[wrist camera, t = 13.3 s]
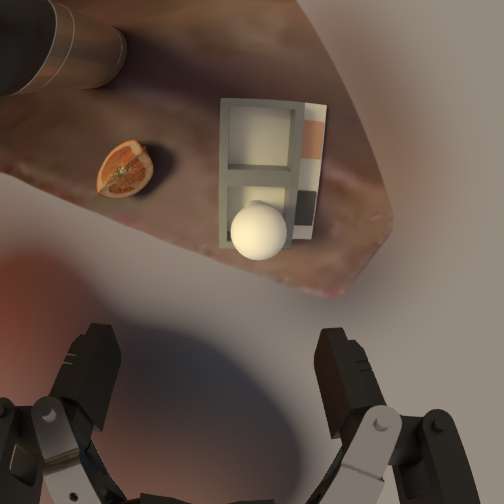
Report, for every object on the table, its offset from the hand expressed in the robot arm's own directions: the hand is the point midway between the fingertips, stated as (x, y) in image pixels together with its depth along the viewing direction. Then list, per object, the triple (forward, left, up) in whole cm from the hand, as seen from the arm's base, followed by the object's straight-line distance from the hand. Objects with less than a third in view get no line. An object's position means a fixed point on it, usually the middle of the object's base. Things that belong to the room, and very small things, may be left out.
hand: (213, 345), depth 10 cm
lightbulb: (+3, -6, -30) cm, 30 cm away
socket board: (+6, -1, -30) cm, 31 cm away
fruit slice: (-13, 0, -30) cm, 33 cm away
